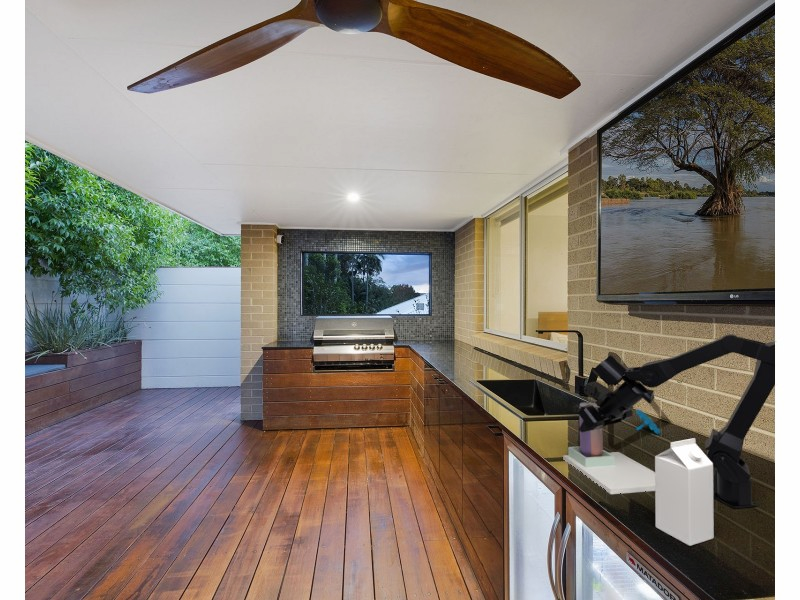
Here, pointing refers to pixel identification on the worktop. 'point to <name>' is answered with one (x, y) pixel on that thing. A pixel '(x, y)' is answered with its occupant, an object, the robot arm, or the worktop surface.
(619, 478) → the housing plate
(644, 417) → the blue irregular branched piece
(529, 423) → the worktop surface
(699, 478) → the milk carton
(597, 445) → the beverage can
